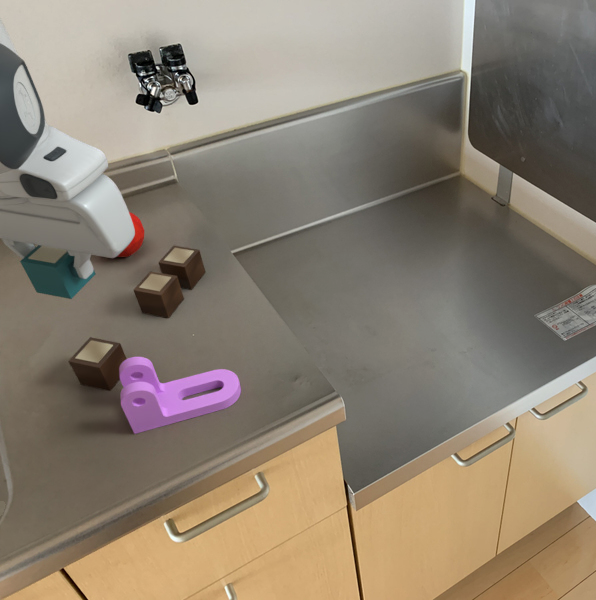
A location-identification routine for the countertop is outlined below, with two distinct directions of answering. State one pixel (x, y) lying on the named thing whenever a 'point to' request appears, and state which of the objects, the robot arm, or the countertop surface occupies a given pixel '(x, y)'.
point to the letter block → (52, 272)
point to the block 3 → (159, 294)
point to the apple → (136, 240)
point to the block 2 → (183, 265)
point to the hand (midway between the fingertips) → (61, 270)
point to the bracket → (171, 394)
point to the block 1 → (98, 363)
